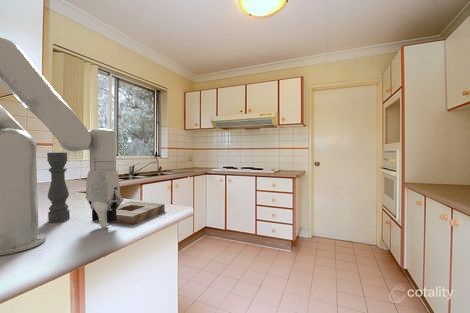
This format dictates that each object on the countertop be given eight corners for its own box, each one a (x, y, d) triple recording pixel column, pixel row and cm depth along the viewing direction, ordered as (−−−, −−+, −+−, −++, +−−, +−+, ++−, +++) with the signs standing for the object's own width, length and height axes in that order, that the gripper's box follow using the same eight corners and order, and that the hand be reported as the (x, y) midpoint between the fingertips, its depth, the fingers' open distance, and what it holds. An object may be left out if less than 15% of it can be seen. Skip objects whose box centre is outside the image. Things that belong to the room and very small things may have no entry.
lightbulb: (98, 232, 69) (97, 197, 69) (90, 228, 73) (89, 195, 73) (118, 227, 74) (117, 194, 74) (110, 223, 78) (109, 192, 77)
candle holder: (57, 223, 78) (55, 152, 77) (43, 222, 79) (41, 152, 78) (73, 218, 84) (72, 152, 83) (60, 217, 85) (58, 152, 84)
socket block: (132, 225, 76) (132, 216, 76) (93, 219, 82) (93, 211, 82) (164, 211, 93) (164, 204, 93) (130, 207, 99) (130, 201, 99)
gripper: (73, 166, 72) (74, 221, 73) (114, 168, 67) (115, 227, 67) (94, 165, 79) (95, 215, 80) (132, 166, 74) (133, 219, 74)
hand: (104, 220), depth 73 cm, fingers closed on lightbulb, 5 cm apart
